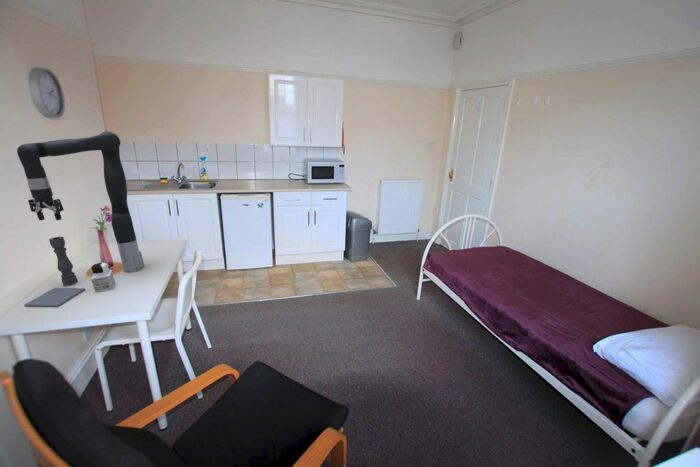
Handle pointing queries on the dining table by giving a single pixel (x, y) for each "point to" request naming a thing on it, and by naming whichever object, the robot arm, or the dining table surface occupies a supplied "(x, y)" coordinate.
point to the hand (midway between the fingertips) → (50, 219)
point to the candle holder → (63, 261)
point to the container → (102, 277)
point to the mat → (55, 297)
